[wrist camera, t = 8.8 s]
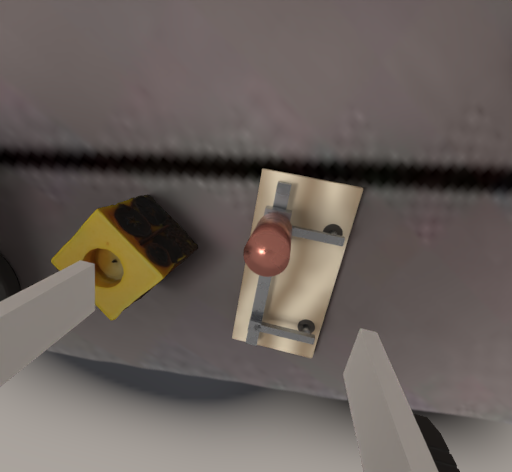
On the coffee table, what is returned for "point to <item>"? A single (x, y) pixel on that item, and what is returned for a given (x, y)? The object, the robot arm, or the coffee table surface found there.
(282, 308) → the board
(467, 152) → the coffee table surface
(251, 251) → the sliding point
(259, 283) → the rail
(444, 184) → the coffee table surface
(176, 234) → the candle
